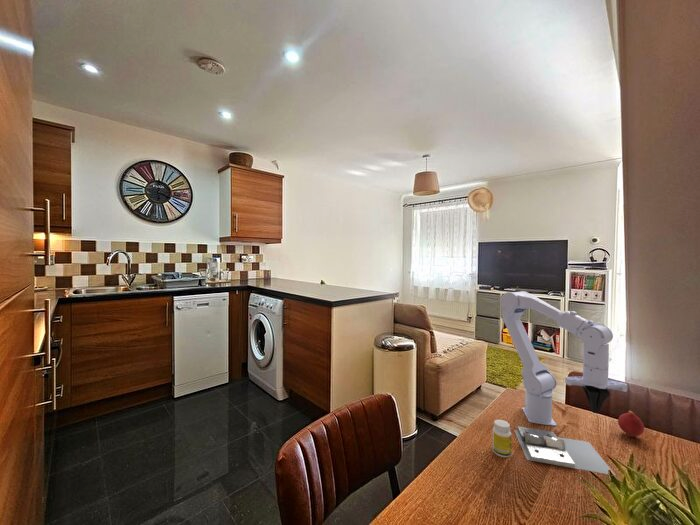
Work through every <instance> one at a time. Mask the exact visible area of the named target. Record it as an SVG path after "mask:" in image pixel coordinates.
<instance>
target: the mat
mask: <svg viewBox="0 0 700 525" xmlns="http://www.w3.org/2000/svg"><path fill="white" fill-rule="evenodd" d="M513 431H514V433H515V435H516V436H515V437H516V438H517V440H518V443H519V444H520V447H521V449H522V452H523V454H524V456H525V458H526V460H527V461H532V460H531V458H530V456H529V454H528V452H527V450H526V445H525V444H524V442H523V441H522V440H521V437H520V435H519V432H518V430H517V429H516V430H513ZM557 438H561V439H563V440H564V442H565V451H567V452H568V454H569V456H570V457H571V459H572V460H573V462H574V463H575V468H574V469H576V470H577V469H578V470H582V471H588V472H593V473H598V474H599V473H600V474H604V475H609V474H608V470H611V472H612V473H613V474H614V475H613V476H616V477H617V474H615V472H614V471H613V469H611V467H610V466H609V465H608V464H607V463H606V461H605V460H604V458H602V456H601V455H600V453H599V452H598V451H597V450H596V449H595V448H594V446H593V445H592V444H591V443H590V441H585V440H578V439H572V438H565V437H559V436H557ZM532 462H533V461H532Z"/></svg>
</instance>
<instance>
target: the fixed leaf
mask: <svg viewBox="0 0 700 525" xmlns="http://www.w3.org/2000/svg"><path fill="white" fill-rule="evenodd" d="M516 428H517V429H516V431H518V432H519V435H520V437H521V440H522V441H523V442H524V444H525V445H526V444H530V445H536V446H542V447H545V440H544V437H543V436H548V437H555V438H557V437H558V436H557V434H556V433H555V432H554V431H549V430H544V429H538V428H529V427H525V426H517V427H516Z"/></svg>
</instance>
